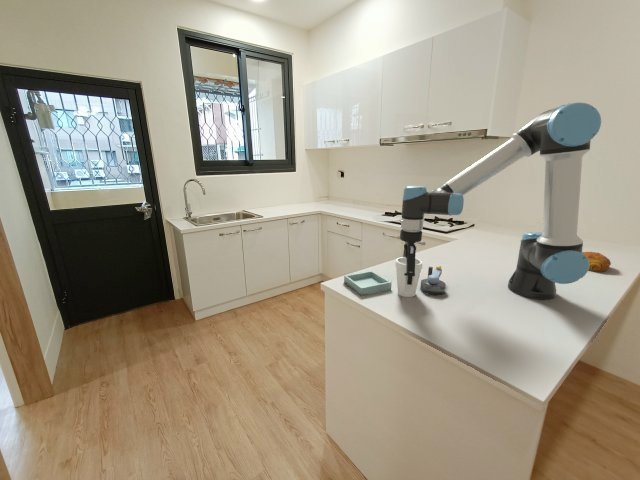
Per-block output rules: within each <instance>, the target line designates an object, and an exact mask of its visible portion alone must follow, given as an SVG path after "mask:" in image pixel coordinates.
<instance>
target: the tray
mask: <svg viewBox="0 0 640 480" xmlns="http://www.w3.org/2000/svg"><path fill="white" fill-rule="evenodd" d="M343 283H344V284H346V285H347V286H348V287H349V288H351V289H352V290H353V291H355V292H356V293H358V295H360V296H361V297H362V296H365V295H366V296H367V295H371V294H376V293H381V292H385V291H389V290H392V281H390V280H388V279H387V278H385V277H383V276H382V275H380V274H379V273H377V272H376V271H373V270H367V271H364V272H363V271H362V272H358V273H352V274H346V275H344V276H343Z"/></svg>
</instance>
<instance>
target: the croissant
mask: <svg viewBox="0 0 640 480" xmlns="http://www.w3.org/2000/svg"><path fill="white" fill-rule="evenodd" d="M582 253H583V254H584V255H585V256H586V257H587V259H588V261H589V270H588V271H590V272H591V271H592V272H597V273H602V272H605V271H607V270H608V269H609V268H610V266H611V265H612V262H611V260H610V258H608V257H607V256H606V255H604V254H602V253H601V252H593V251H584V252H583V251H582Z"/></svg>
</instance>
